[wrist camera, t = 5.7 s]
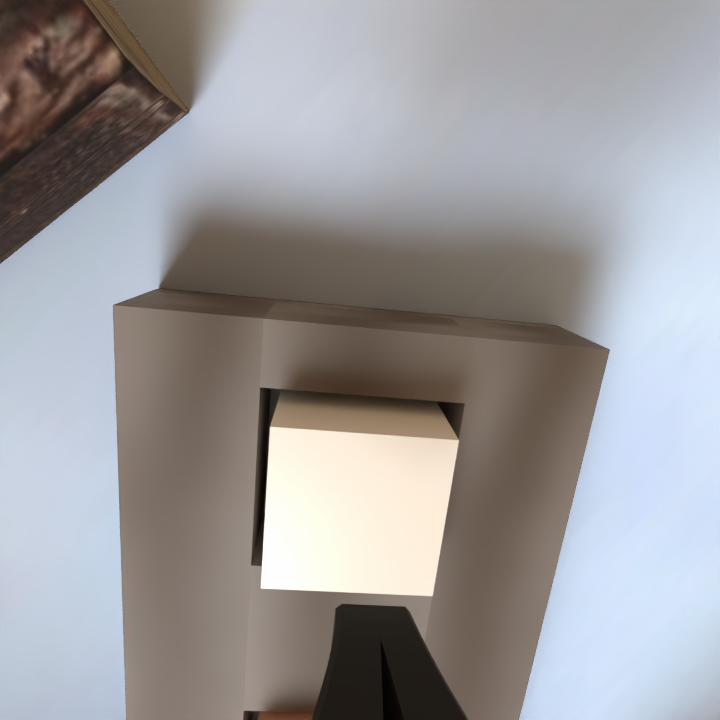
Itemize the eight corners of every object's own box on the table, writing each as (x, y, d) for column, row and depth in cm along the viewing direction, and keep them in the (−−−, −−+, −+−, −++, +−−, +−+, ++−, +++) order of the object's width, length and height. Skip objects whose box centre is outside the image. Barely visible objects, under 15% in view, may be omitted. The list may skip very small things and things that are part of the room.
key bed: (556, 325, 18) (609, 349, 14) (460, 773, 23) (482, 866, 20) (157, 288, 16) (113, 305, 13) (161, 769, 22) (131, 866, 19)
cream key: (435, 401, 16) (459, 440, 13) (415, 533, 17) (432, 596, 14) (281, 388, 15) (269, 426, 13) (273, 525, 17) (260, 588, 14)
